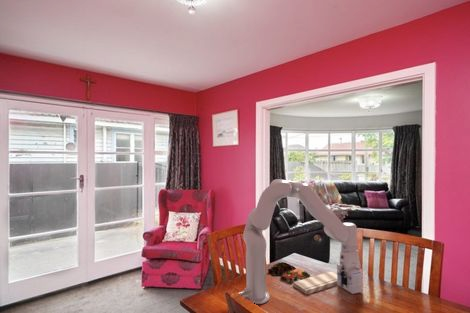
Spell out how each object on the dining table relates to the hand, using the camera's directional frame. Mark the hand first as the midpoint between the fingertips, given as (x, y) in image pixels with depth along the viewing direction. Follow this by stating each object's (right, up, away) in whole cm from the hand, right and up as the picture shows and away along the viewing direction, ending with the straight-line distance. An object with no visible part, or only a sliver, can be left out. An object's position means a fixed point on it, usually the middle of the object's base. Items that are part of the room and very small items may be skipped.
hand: (349, 282), depth 131 cm
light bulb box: (0, -3, 0) cm, 3 cm away
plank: (-13, -4, +6) cm, 15 cm away
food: (-28, -5, +19) cm, 34 cm away
